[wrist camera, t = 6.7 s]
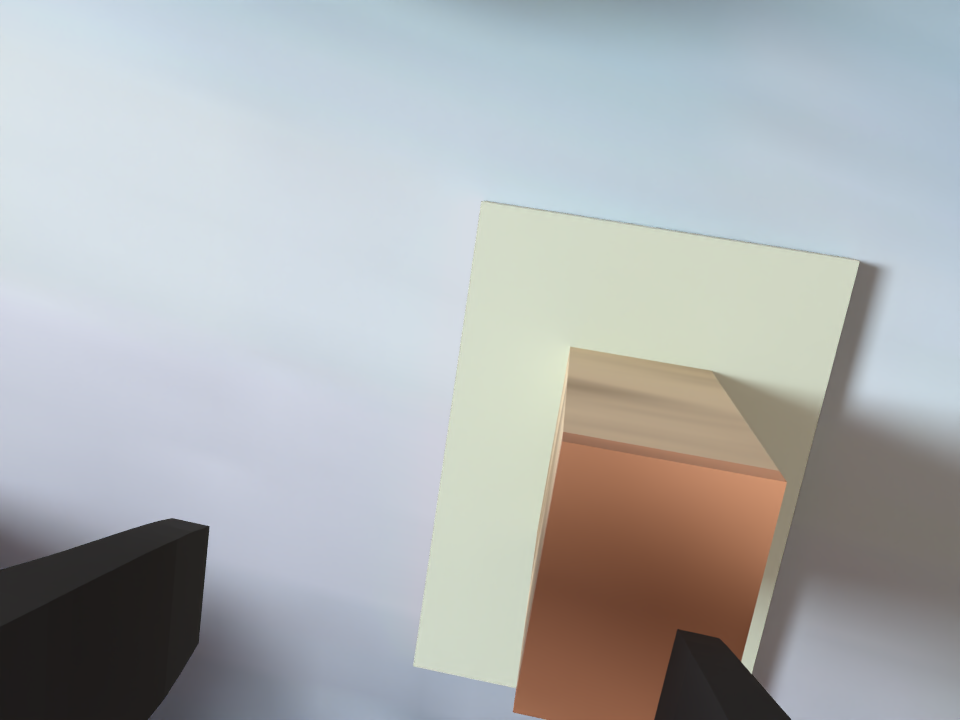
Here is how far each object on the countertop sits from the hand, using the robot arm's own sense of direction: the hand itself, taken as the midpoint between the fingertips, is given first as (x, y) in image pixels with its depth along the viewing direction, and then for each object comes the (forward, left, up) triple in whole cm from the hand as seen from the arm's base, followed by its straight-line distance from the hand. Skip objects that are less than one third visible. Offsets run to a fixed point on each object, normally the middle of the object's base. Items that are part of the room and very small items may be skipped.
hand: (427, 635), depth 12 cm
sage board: (0, -3, -10) cm, 10 cm away
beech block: (0, -3, -9) cm, 10 cm away
